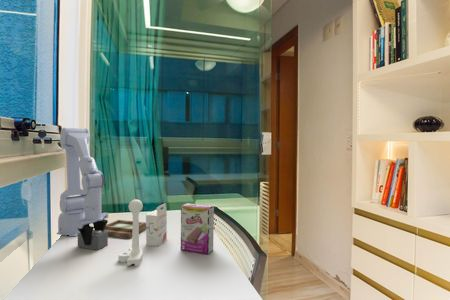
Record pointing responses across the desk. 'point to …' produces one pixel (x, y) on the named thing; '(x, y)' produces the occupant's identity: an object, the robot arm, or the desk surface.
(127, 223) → the stand
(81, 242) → the housing
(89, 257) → the desk surface
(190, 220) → the candy bar box
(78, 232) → the robot arm
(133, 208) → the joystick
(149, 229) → the ink cartridge box
